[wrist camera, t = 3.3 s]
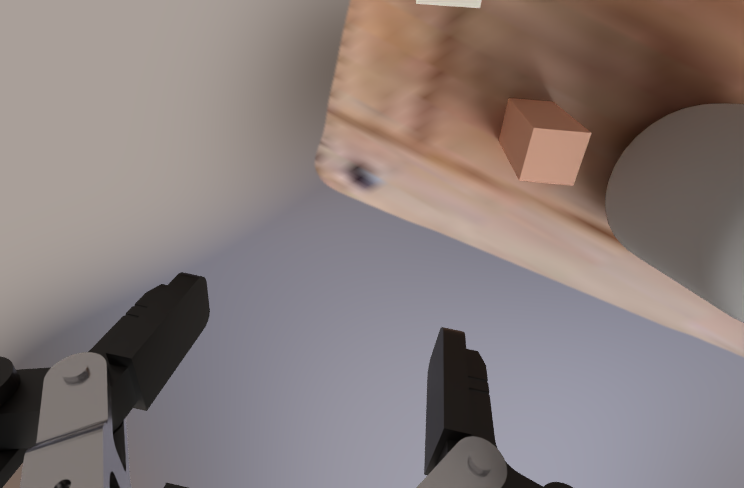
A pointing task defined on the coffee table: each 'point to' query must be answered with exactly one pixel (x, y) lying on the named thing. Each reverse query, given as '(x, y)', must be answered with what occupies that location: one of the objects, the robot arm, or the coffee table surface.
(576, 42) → the coffee table surface
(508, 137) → the terracotta pillar
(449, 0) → the cream pillar
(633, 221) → the jar
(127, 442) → the robot arm
